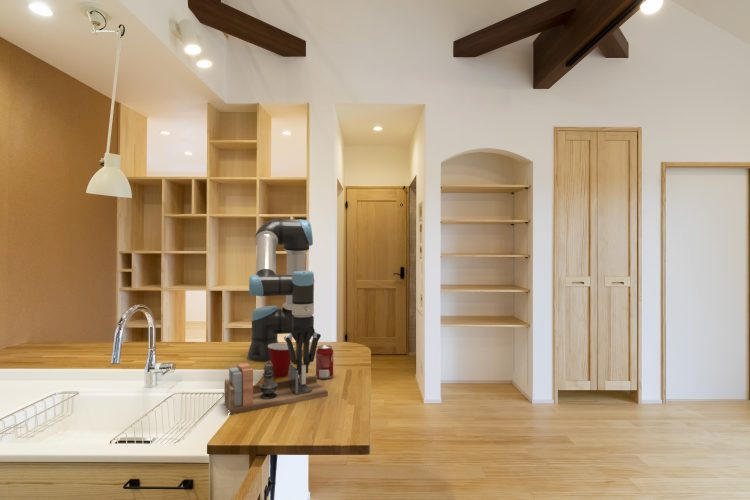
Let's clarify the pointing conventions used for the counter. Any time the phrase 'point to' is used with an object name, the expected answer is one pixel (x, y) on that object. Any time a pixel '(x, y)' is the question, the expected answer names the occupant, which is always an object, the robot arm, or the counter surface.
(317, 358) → the soda can
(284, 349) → the plastic cup
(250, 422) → the counter surface
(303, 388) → the bookend
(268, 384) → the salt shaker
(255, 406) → the wooden book rack
